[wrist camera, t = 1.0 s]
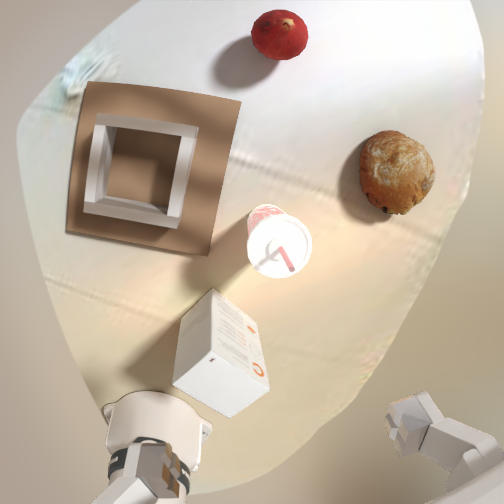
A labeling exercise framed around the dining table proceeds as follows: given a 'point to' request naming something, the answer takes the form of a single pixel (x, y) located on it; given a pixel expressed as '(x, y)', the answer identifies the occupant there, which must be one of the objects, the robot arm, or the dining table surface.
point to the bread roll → (395, 172)
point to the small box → (220, 356)
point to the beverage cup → (277, 242)
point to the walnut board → (150, 165)
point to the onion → (279, 34)
